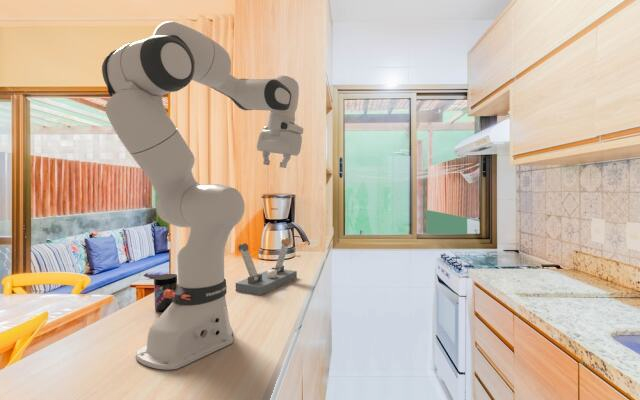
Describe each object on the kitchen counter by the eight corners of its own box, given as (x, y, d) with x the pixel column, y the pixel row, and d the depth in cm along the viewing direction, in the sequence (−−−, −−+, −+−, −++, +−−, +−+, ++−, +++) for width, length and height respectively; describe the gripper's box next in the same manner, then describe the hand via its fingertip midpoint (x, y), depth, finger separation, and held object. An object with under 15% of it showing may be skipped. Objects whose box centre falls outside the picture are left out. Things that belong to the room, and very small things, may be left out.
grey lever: (256, 281, 117) (241, 243, 119) (250, 283, 118) (236, 246, 121) (261, 278, 120) (247, 241, 122) (255, 281, 121) (241, 244, 123)
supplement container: (158, 306, 104) (157, 274, 104) (180, 304, 106) (179, 273, 105) (151, 313, 98) (150, 280, 97) (175, 311, 99) (174, 278, 99)
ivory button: (273, 278, 122) (273, 272, 122) (265, 277, 124) (265, 271, 124) (278, 276, 125) (278, 270, 125) (271, 275, 127) (271, 269, 127)
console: (261, 295, 113) (261, 280, 113) (235, 291, 118) (235, 276, 118) (296, 278, 134) (296, 265, 134) (273, 275, 140) (273, 262, 140)
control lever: (278, 274, 131) (288, 240, 128) (272, 270, 132) (281, 237, 129) (282, 272, 133) (292, 239, 131) (276, 269, 135) (286, 236, 132)
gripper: (255, 123, 114) (249, 162, 115) (292, 124, 100) (285, 168, 101) (270, 128, 119) (264, 164, 120) (307, 129, 105) (300, 170, 106)
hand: (274, 166), depth 110 cm, fingers open, 8 cm apart
